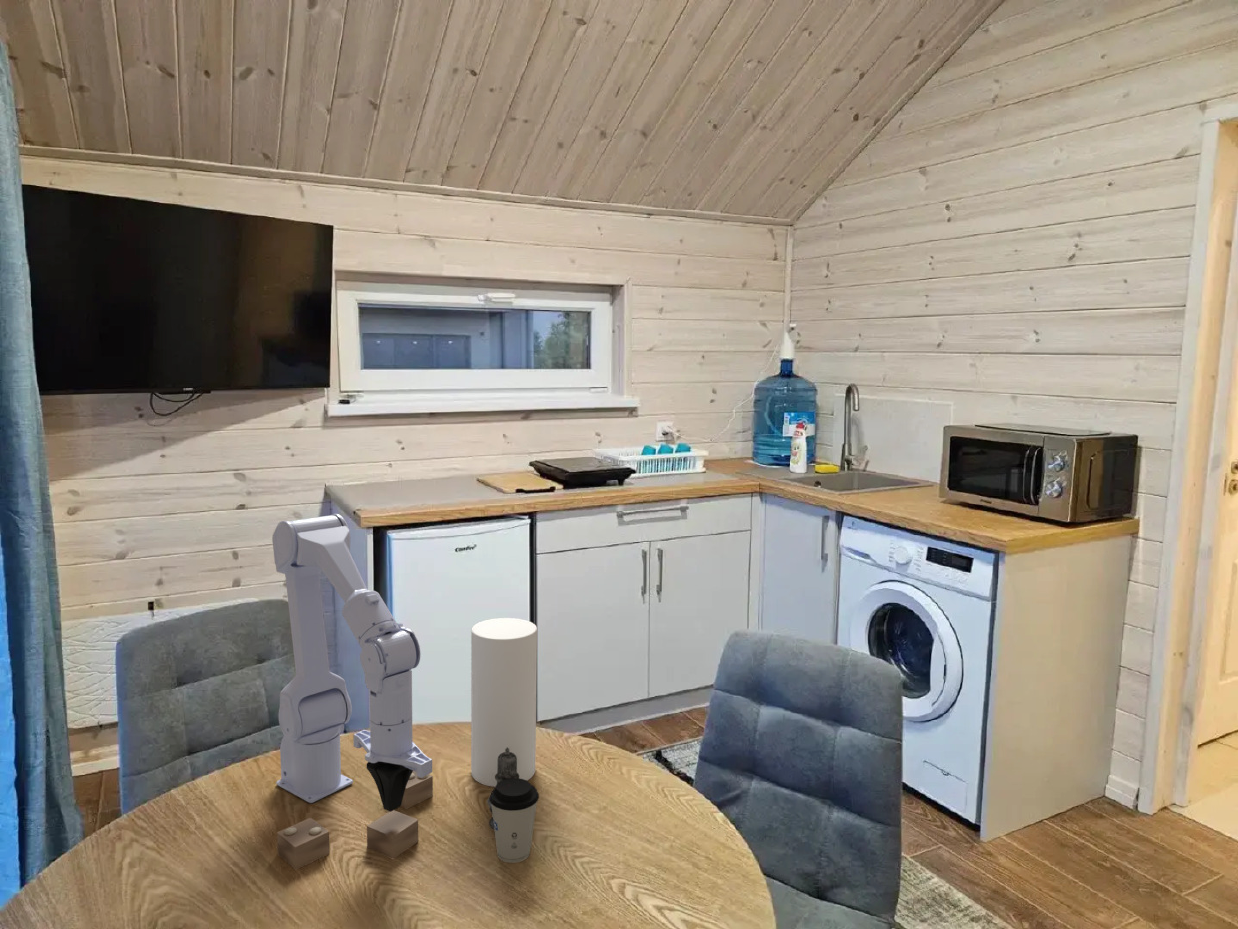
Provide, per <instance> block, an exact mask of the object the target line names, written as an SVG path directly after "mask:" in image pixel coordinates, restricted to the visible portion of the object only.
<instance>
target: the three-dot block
mask: <svg viewBox="0 0 1238 929" xmlns="http://www.w3.org/2000/svg"><path fill="white" fill-rule="evenodd" d="M433 786H434V777H433V775H431V774H428V775H426V776H424V777H422V778H421V777H418V776H417V772H415V771H413V772H412V774H411V776H410V778H409V780H408V782H407V785H406V788H405V792H404V795H403V799H402V804H401V806H400V807H403V808H405V809H406V810H407V809H409V808H411V807H413V806H415V805H417V804H419V803H421V802H424V801H425V800H428V799H430V798H432V797H433V796H434V792H433V791H434V790H433V789H434V788H433Z"/></svg>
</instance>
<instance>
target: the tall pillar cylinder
mask: <svg viewBox="0 0 1238 929" xmlns="http://www.w3.org/2000/svg"><path fill="white" fill-rule="evenodd" d="M470 636H471V640H470V641H471V642H470V644H471V649H470V650H471V654H470V655H471V659H470V660H471V664H470V665H471V667H470V668H471V669H470V670H471V673H470V674H471V676H470V677H471V679H470V680H471V681H470V682H471V683H470V684H471V686H470V687H471V688H470V689H471V690H470V691H471V695H470V696H471V704H470V706H471V708H470V709H471V711H470V712H471V714H470V717H471V722H470V725H471V726H470V728H471V730H470V731H471V733H470V734H471V735H470V736H471V737H470V738H471V739H470V740H471V741H470V743H471V744H470V745H471V746H470V751H471V752H470V753H471V754H470V755H471V756H470V757H471V758H470V759H471V760H470V762H471V763H470V764H471V767H470V770H471V772H470V773H471V777H472V778H473V779H474V780H475V781H476V782H477V783H479V784H480V785H481V784H482V785H483V786H486V787H487V786H488V787H494V788H495V787H496V785H497V781H496V779H495V775H496V774H497V766H498V756H499V755H500V754H501V753H503V752H506V751H505V749H506V748H507V747H508V748H509V752H512V753H514V754H515V755H516V757H517V773H518V774H519V779H524V780H527V781H529V780H530V779H532V777H534V774H535V773H536V755H537V754H536V750H537V746H536V745H537V744H536V741H537V740H536V739H537V737H536V736H537V673H538V672H537V668H538V667H537V666H538V663H537V662H538V661H537V659H538V654H537V652H538V627H537V625H536V624H535V623H534V622H532V621H529V620H526V619H522V618H513V617H500V618H499V617H497V618H490V619H486V620H482V621H480V622H477V623H476V624H474V625H473V626H472V628H471V635H470Z"/></svg>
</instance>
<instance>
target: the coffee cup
mask: <svg viewBox="0 0 1238 929" xmlns="http://www.w3.org/2000/svg"><path fill="white" fill-rule="evenodd" d="M488 798H489V801H490V802H491V806H492V814H493V815H492V814H491V815H492V817H493V822H494V830H493V831H494V839H495V845H496V855H497V857H498V859H500V860H501V861H502V862H504V863H509V864H515V863H516V864H517V863H520V862H524V860H526V859H528V858H529V856H530V854H531V847H532V839H533V833H534V826H535V818H536V814H537V813H536V812H537V805H538V801H539V798H540V793H539V792H538V789H537V787H535V785H532V784H531V783H530V781H529V780H524V779H519V778H513V779H505V780H501V781H500V782H498V783H497V785H496V787H494V788H493V789H492V790H491V792H490V793H489V796H488Z"/></svg>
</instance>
